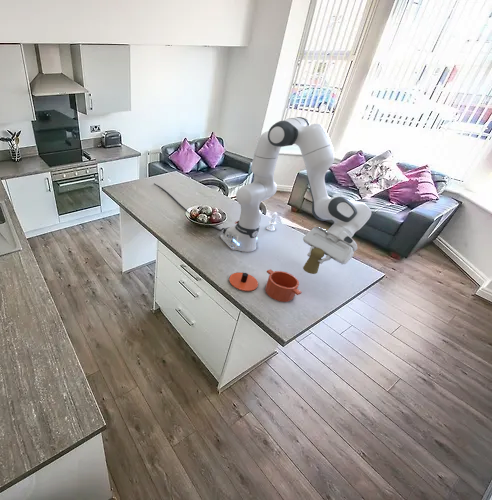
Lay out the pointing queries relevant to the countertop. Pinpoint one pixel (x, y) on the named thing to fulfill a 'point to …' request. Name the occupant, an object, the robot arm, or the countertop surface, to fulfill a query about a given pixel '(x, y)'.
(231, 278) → the pot lid
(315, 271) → the cork
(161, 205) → the countertop surface
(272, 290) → the pot
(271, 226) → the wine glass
